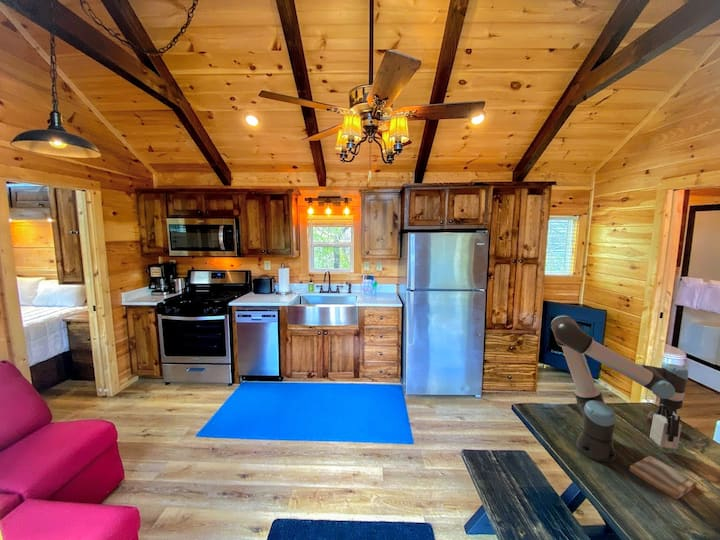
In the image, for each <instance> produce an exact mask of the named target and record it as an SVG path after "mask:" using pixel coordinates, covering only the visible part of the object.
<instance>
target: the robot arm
mask: <svg viewBox="0 0 720 540" xmlns="http://www.w3.org/2000/svg"><path fill="white" fill-rule="evenodd" d="M550 328H551V331H552V333H553V335H554V336H553V337H554V339H555V342H556V345H558V346H559V347H561V349H562V351H563V354H564V357H565V361H566V364H567V366H568V369H569V372H570V375H571V378H572V381H573V383H574V386H575V389H574V390H573V394H574V397H575V400H576V403H577V407H578V408H579V410H580V413H581V415H582V418H583V419H582V420H583V421H582V430H581V433H580V434H579V435H578V437H577V438H576V443H575V444H576V448H577V450H579V451H580V452H581V453H582V454H583V455H585V456H586V457H588V458H590V459H592V460H594V461H598V462H601V463H612V462H614V461H615V460H616V449H615V447H614V443H613V441H614V440H613V438H614V433H615V432H614V430H615V423H616V421H617V420H616V418H617V417H616V412H615V410H614V408H612V407H611V406H610V405H608V403H605V399H604V397H603V395H602V391H601V389H600V388H599V387H597V386H596V385H595V382H594V379H593V375H592V374H591V370H590V367H589V365H588V362H587V358H586V356H585V355H587V356H588V357H590V358H592V359H593V360H594V361H597V362H599V363H600V364H603V365H604V366H606V367H607V368H610V369H612V370H613V371H615V372H617V373H618V374H621V375H622V376H624V377H626V378H628V379H629V380H632V381H633V382H635V383H636V384H638V385H640V386H642V387H643V388H645V389H646V390H648V391H651V392H652V394H654V395H655V396H656V397H658V398H659V401H658V408H657V410H658V411H657V414H656V415H662V416H666V419H667V423H668V427H667V433H666V432H665V433H666V436H665V441H664V446H666V447H671V448H670V449H673V448H672V446H673V441H674V437H678V430H679V423H680V420H681V416H680V415H678V411H677V410H681V409H682V408H683V402H684V401H683V400H684V397H685V395H686V393H685V391H686V387H687V383H688V380H689V371H688V369H687V368H685V367H684V366H681V365H677V364H673V363H667V364H666V366H665V367H657V366H653V365H652V366H651V365H646V364H643V363H642V364H641V363H639V364H638V363H636V362H634V361H633V360H630V359H629V358H627V357H625V356H623V355H621V354H620V353H618V352H616V351H614V350H613V349H610V348H609V347H606V346H605V345H603V344H601V343H599V342H597V341H595V340H594V338H593V336H591V335H589V334H587V333H586V332H585V331H584V330H582V328H581V327H579V325H578V324H577V322H576V320H575V319H574V318H572V317H570V315H569V316H568V315H557V316H556V317H554V318H553V319H552V320H551V323H550ZM669 417H671V418H669ZM666 447H665V448H666Z"/></svg>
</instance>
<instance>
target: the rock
mask: <svg viewBox="0 0 720 540" xmlns="http://www.w3.org/2000/svg"><path fill="white" fill-rule="evenodd" d="M657 411H658V409H655V408H654V409H652V410H650V412H649V413H648V414H647V417H646V419H645V420H644V422H645V423H646V424H647V425H648V426H649V427H651V426H652V420H653V415H654V414H657Z"/></svg>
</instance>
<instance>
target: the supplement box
mask: <svg viewBox="0 0 720 540" xmlns="http://www.w3.org/2000/svg"><path fill="white" fill-rule="evenodd" d="M669 418H671V417H669ZM667 427H668V423H667V419H666V416H662V415H656V414H654V415H653V420H652V426H650V433H649V438H650V439H651V440H652V441H653V442H655V444H657V445H658V447H660V448H667V449H674V450H678V448H679V443H680V437H681V432H682V427H683V425H682V424H681V423H680V422H679V430H678V437H674V441H673V446H672V448H671V447H666V446H664V441H665V436H666V433H667ZM665 432H666V433H665Z"/></svg>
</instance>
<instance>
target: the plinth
mask: <svg viewBox="0 0 720 540" xmlns="http://www.w3.org/2000/svg"><path fill="white" fill-rule="evenodd" d="M630 471H631V473H633V474H634V475H635V476H637V477H639V478H640V479H642V480H644V481H645V482H647V483H648V484H650V485H652V486H654V487H655V488H657V489H658V490H660V491H662V493H663V492H664V493H665V494H667V495H669V497H671V498H673V499H675V500H678V499H680V498H682V497H683V496H684V495H686V494H687V493H689V492H690V491H692V490H693V489H694V488H696V487H697V485H698V480H696V479H694V478H692V477H690V476H689V475H686V474H685V473H683V472H681V471H679V470H677V469H676V468H674V467H671V466H670V465H668V464H666V463H664V462H663V461H661V460H658V458H655V457H653V456H652V455H648V456H646V457H644V458H642V459H640V460H639V461H636V462H635V463H633V464H631V465H630V466H629V472H630Z"/></svg>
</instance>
